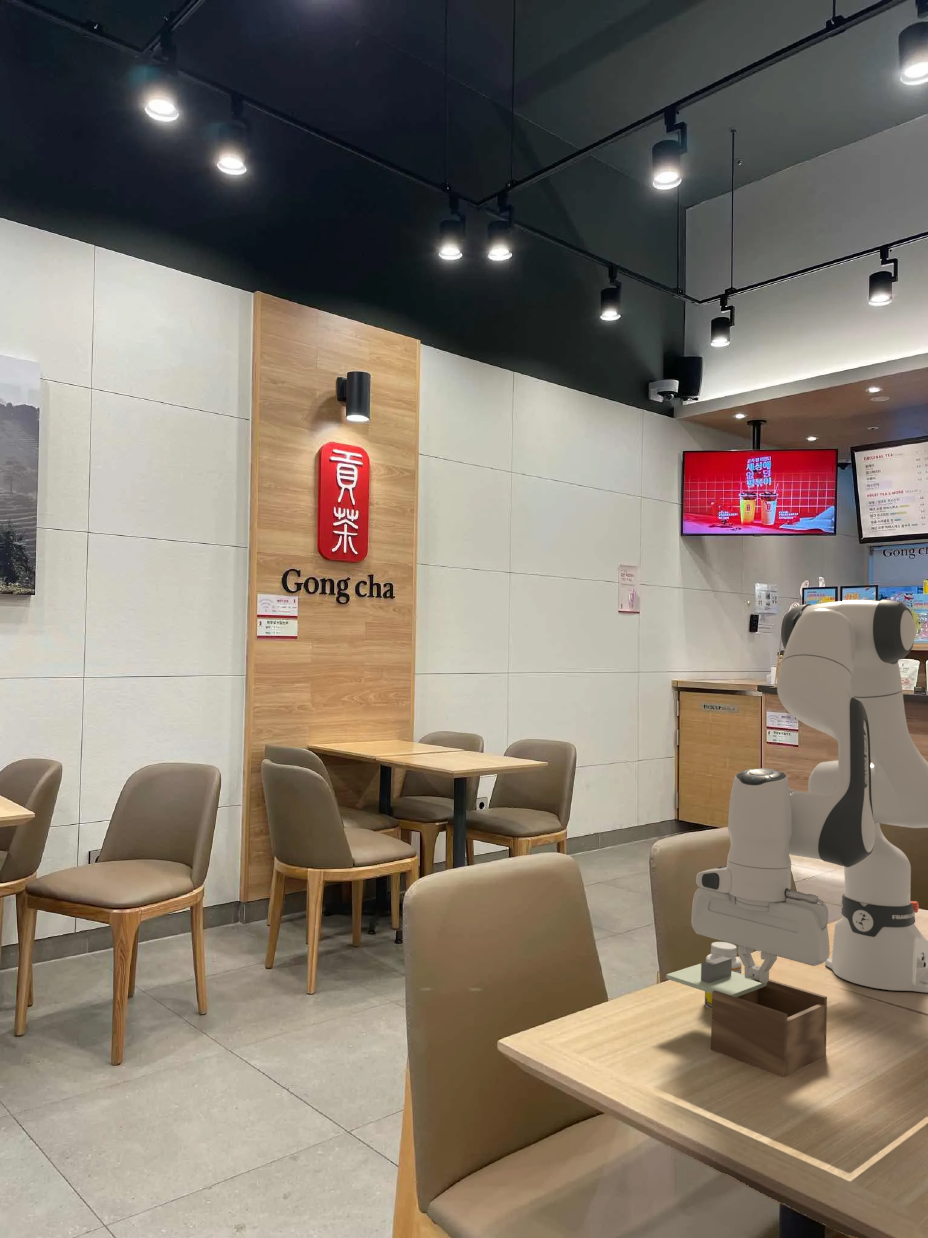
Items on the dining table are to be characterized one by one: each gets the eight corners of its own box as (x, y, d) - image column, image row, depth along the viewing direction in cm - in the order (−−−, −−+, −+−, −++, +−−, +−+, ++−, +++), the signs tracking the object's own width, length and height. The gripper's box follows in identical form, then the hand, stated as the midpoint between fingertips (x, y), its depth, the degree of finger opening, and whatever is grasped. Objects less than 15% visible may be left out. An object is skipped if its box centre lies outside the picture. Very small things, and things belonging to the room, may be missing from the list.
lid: (703, 966, 142) (704, 946, 143) (766, 985, 134) (767, 964, 135) (666, 978, 136) (666, 957, 136) (730, 999, 128) (730, 977, 128)
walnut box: (755, 1034, 136) (756, 975, 137) (825, 1059, 128) (827, 996, 129) (710, 1053, 128) (712, 991, 129) (783, 1081, 120) (784, 1015, 121)
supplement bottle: (697, 1005, 148) (699, 941, 148) (727, 1002, 149) (728, 939, 150) (717, 1017, 142) (718, 951, 143) (747, 1015, 144) (749, 949, 145)
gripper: (838, 895, 126) (837, 997, 125) (710, 867, 141) (708, 958, 140) (817, 901, 121) (815, 1006, 121) (686, 872, 137) (684, 966, 136)
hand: (756, 980), depth 130 cm, fingers closed
